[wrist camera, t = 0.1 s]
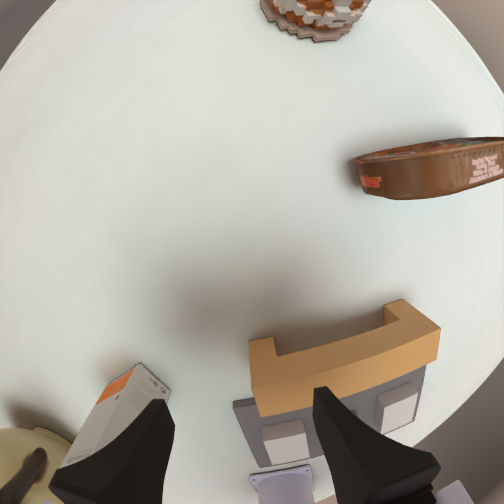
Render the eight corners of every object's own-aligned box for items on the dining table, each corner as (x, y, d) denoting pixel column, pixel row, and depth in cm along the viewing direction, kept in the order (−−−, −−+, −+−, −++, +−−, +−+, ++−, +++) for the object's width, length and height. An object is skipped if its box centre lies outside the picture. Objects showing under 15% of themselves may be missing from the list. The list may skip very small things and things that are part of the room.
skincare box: (139, 360, 22) (90, 461, 10) (172, 390, 23) (143, 494, 11) (105, 383, 22) (57, 468, 11) (135, 410, 23) (101, 497, 12)
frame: (402, 326, 22) (436, 359, 16) (256, 368, 22) (260, 417, 16) (402, 298, 21) (440, 328, 16) (248, 341, 22) (251, 388, 16)
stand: (410, 416, 26) (425, 438, 21) (258, 462, 26) (261, 490, 21) (423, 345, 23) (446, 367, 18) (233, 401, 23) (232, 435, 19)
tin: (464, 137, 18) (527, 130, 10) (471, 168, 19) (534, 170, 11) (335, 160, 19) (393, 145, 11) (346, 201, 19) (408, 211, 11)
